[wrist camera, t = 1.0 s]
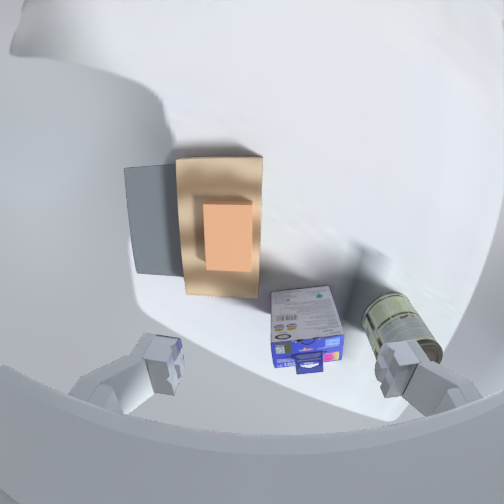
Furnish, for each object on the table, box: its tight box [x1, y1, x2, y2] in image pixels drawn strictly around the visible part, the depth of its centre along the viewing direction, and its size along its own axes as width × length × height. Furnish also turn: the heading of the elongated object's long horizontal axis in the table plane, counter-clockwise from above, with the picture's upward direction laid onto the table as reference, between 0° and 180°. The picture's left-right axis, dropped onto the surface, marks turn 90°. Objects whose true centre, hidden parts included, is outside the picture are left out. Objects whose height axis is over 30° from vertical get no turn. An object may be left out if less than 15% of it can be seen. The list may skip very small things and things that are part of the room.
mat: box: [124, 165, 184, 277], centre depth 41 cm, size 18×10×1 cm, turn 179°
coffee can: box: [362, 293, 443, 364], centre depth 39 cm, size 10×10×14 cm
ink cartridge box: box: [271, 286, 344, 374], centre depth 38 cm, size 10×6×14 cm, turn 99°
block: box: [203, 201, 253, 272], centre depth 36 cm, size 9×6×2 cm, turn 179°
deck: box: [176, 156, 263, 299], centre depth 38 cm, size 20×11×4 cm, turn 179°
